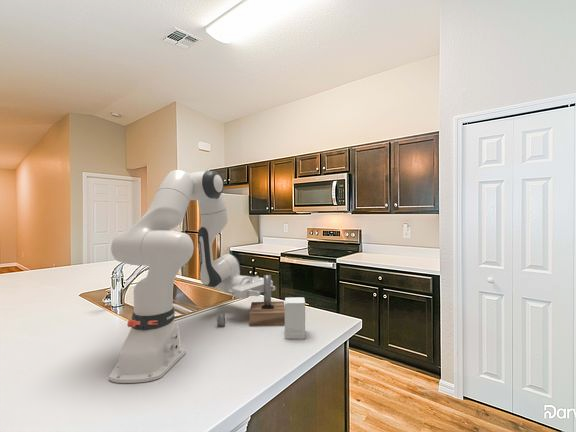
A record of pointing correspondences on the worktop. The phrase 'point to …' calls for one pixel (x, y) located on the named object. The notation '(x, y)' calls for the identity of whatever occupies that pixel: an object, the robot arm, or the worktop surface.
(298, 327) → the supplement box
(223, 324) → the short pin
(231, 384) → the worktop surface
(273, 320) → the collar block
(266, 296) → the long pin
